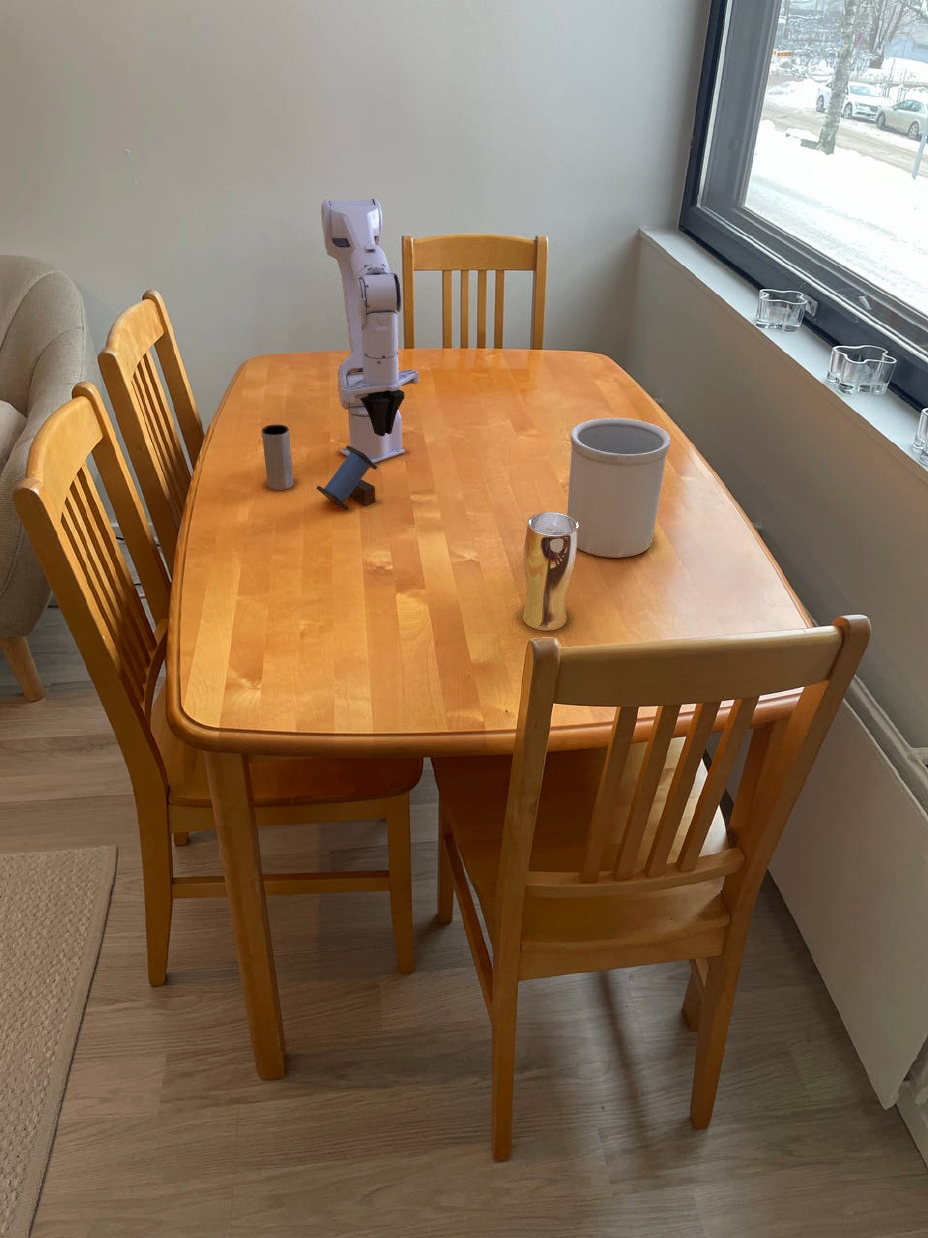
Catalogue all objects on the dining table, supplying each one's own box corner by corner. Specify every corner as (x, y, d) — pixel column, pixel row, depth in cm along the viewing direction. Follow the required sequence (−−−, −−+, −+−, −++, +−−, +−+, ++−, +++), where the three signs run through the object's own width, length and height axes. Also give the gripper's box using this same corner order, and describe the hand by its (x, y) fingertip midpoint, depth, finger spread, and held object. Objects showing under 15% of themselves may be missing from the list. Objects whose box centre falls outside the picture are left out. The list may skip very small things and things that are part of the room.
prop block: (353, 490, 159) (353, 474, 157) (375, 502, 155) (374, 486, 153) (343, 494, 157) (342, 478, 156) (365, 506, 154) (364, 490, 152)
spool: (362, 489, 159) (360, 440, 154) (378, 498, 156) (377, 448, 151) (317, 506, 153) (313, 456, 148) (333, 515, 151) (329, 464, 146)
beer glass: (516, 605, 130) (522, 511, 121) (564, 604, 130) (574, 510, 122) (523, 633, 124) (530, 537, 116) (573, 632, 125) (584, 535, 116)
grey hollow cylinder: (288, 491, 158) (283, 435, 152) (263, 489, 158) (257, 433, 152) (297, 480, 161) (292, 425, 155) (273, 477, 162) (267, 423, 156)
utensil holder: (545, 524, 150) (553, 423, 140) (623, 509, 155) (636, 410, 145) (590, 567, 139) (602, 461, 129) (672, 549, 144) (690, 446, 134)
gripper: (359, 368, 139) (363, 451, 147) (430, 349, 148) (431, 429, 155) (332, 357, 143) (337, 438, 151) (402, 339, 152) (404, 417, 159)
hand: (382, 433), depth 153 cm, fingers closed
